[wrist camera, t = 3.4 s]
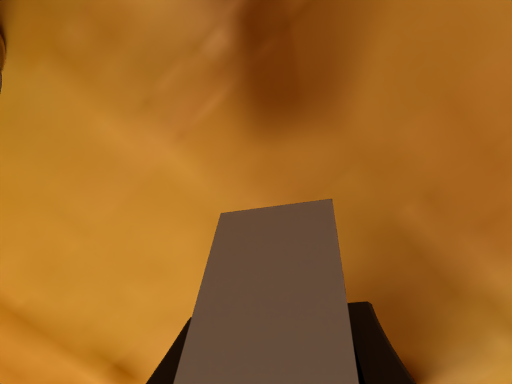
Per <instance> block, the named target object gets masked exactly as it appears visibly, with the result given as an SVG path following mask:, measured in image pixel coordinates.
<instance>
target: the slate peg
mask: <svg viewBox="0 0 512 384" xmlns="http://www.w3.org/2000/svg"><path fill="white" fill-rule="evenodd" d="M174 384H359V382H358V375H357V368H356V361H355V354H354V347H353V340H352V333H351V326H350V319H349V312H348V306H347V299H346V292H345V285H344V278H343V271H342V264H341V257H340V250H339V243H338V236H337V229H336V223H335V216H334V209H333V202H332V199H326V200H319V201H311V202H303V203H296V204H288V205H280V206H273V207H265V208H257V209H250V210H242V211H235V212H227V213H221V214H220V218H219V222H218V225H217V229H216V232H215V236H214V240H213V243H212V247H211V250H210V254H209V258H208V261H207V265H206V268H205V272H204V276H203V279H202V283H201V286H200V290H199V294H198V297H197V301H196V304H195V308H194V312H193V315H192V319H191V322H190V326H189V330H188V333H187V337H186V340H185V344H184V348H183V351H182V355H181V358H180V362H179V366H178V369H177V373H176V376H175V380H174Z"/></svg>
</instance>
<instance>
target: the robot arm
mask: <svg viewBox="0 0 512 384" xmlns="http://www.w3.org/2000/svg"><path fill="white" fill-rule="evenodd" d="M347 306H348V312H349V319H350V326H351V333H352V340H353V347H354V354H355V361H356V368H357V375H358V382H359V384H416V383H415V381H414V380H413V379H412V377H411V376H410V374H409V373H408V371H407V370H406V368H405V367H404V365H403V363H402V362H401V360H400V359H399V357H398V355H397V354H396V352H395V351H394V349H393V347H392V346H391V344H390V342H389V340H388V339H387V337H386V335H385V333H384V331H383V329H382V327H381V325H380V323H379V321H378V319H377V317H376V314H375V312H374V309H373V307H372V304H371V303H369V302H368V301H367V302H355V303H347ZM191 319H192V317H190V319H189V320H188V321H187V323H186V324H185V326H184V327H183V329H182V331H181V332H180V334H179V335H178V337H177V338H176V340H175V341H174V343H173V345H172V346H171V348H170V349H169V351H168V352H167V354H166V355H165V357H164V358H163V360H162V361H161V362H160V364H159V365H158V367H157V368H156V370H155V371H154V373H153V374H152V376H151V377H150V378H149V380H148V381H147V383H146V384H174V380H175V376H176V373H177V369H178V366H179V362H180V358H181V355H182V351H183V348H184V344H185V340H186V337H187V333H188V330H189V326H190V322H191Z"/></svg>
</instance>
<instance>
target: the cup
mask: <svg viewBox="0 0 512 384" xmlns="http://www.w3.org/2000/svg"><path fill="white" fill-rule="evenodd" d="M5 60H6V49H5V44H4V41H3V38H2V36H1V34H0V92H1V85H2V74H1V72H2V70H3V68H4V65H5Z"/></svg>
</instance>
